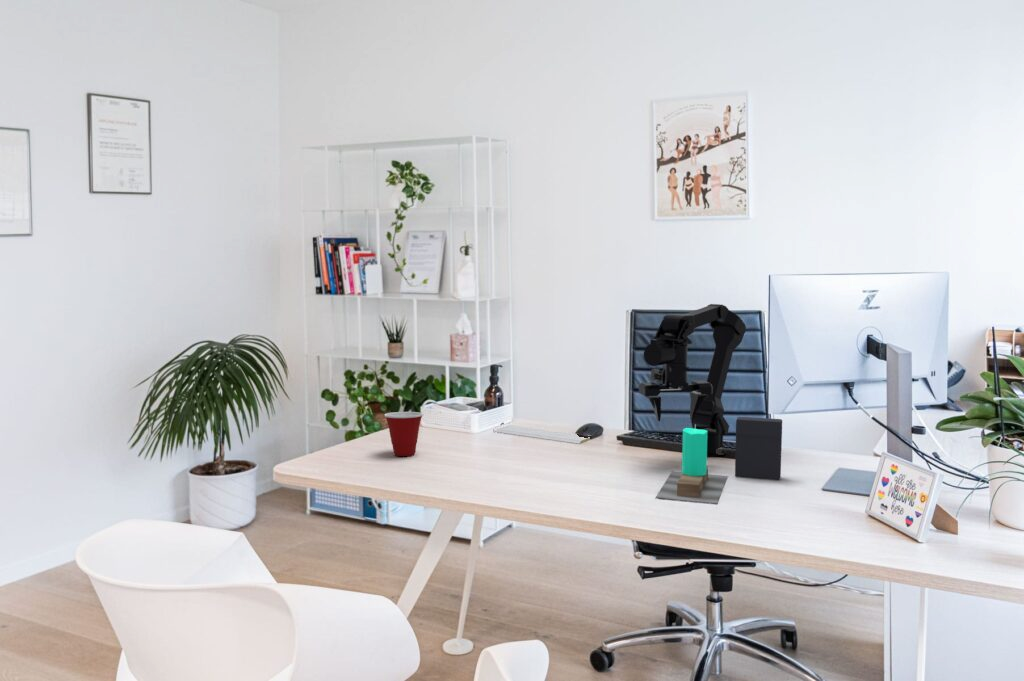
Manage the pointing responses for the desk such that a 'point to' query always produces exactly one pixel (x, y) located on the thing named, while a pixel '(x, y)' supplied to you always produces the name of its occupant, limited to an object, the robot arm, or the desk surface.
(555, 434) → the baseboard
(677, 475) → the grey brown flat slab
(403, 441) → the plastic cup
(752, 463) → the upright charcoal slab
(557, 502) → the desk surface
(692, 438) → the candle
